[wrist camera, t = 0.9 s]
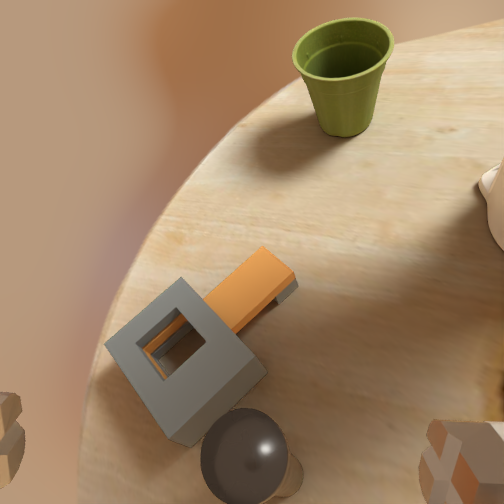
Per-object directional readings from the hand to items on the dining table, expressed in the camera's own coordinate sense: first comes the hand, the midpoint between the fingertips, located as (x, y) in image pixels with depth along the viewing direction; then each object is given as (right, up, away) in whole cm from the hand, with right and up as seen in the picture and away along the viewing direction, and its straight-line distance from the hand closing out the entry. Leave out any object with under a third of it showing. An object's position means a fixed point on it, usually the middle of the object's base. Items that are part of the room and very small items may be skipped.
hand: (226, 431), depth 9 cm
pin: (+3, -16, +30) cm, 34 cm away
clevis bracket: (-2, -6, +38) cm, 39 cm away
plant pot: (+14, +22, +51) cm, 58 cm away
